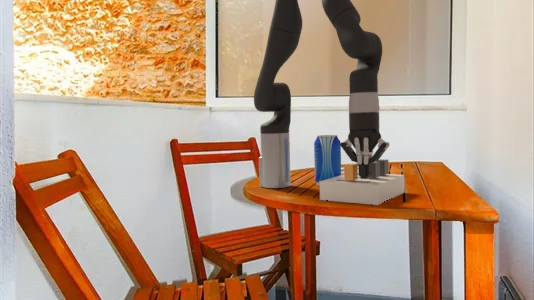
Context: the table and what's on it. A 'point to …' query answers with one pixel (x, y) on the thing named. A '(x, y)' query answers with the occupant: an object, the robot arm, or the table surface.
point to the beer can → (327, 157)
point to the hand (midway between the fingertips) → (365, 178)
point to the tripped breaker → (350, 172)
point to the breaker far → (383, 167)
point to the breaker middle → (375, 170)
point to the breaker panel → (362, 189)
